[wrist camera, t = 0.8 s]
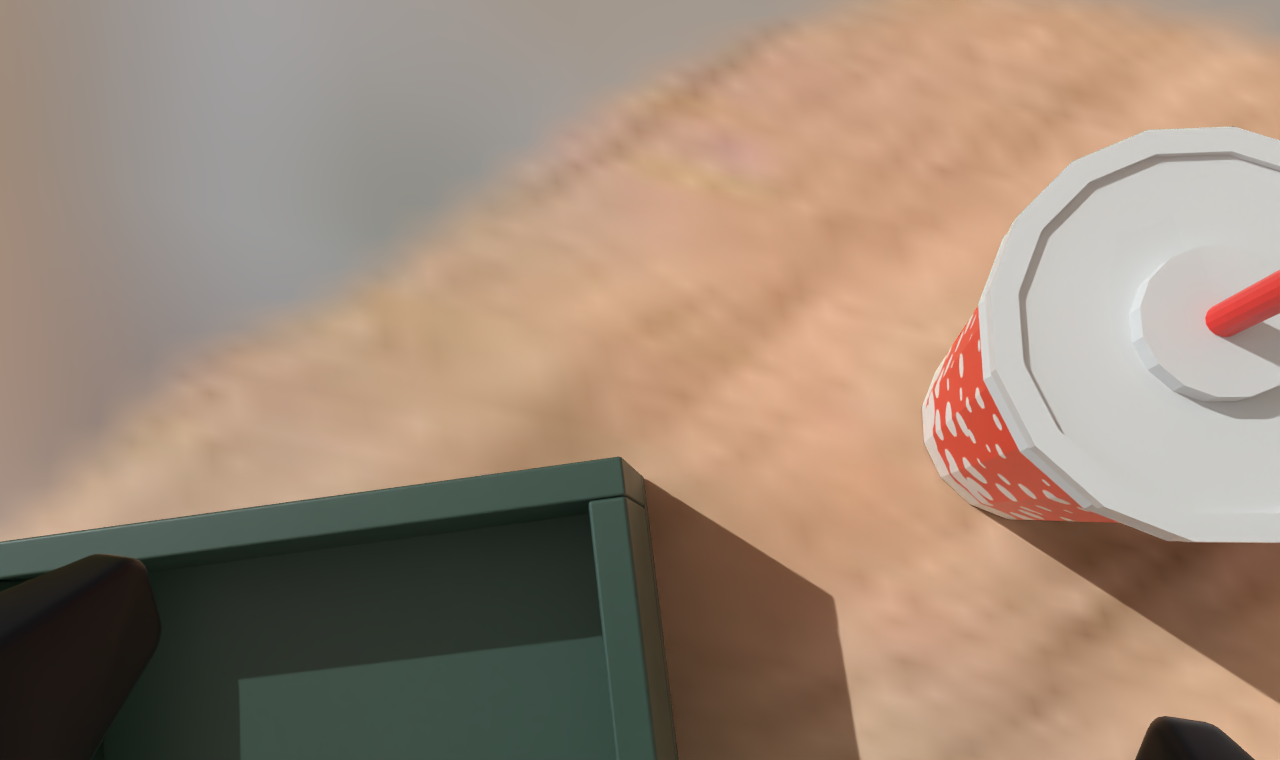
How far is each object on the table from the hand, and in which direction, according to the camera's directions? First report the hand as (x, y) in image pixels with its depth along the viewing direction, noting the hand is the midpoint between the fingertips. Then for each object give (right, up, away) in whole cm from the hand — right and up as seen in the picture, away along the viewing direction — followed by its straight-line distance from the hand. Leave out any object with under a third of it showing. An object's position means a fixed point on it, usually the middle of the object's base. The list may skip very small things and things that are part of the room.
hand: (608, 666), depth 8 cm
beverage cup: (+9, +1, +14) cm, 17 cm away
